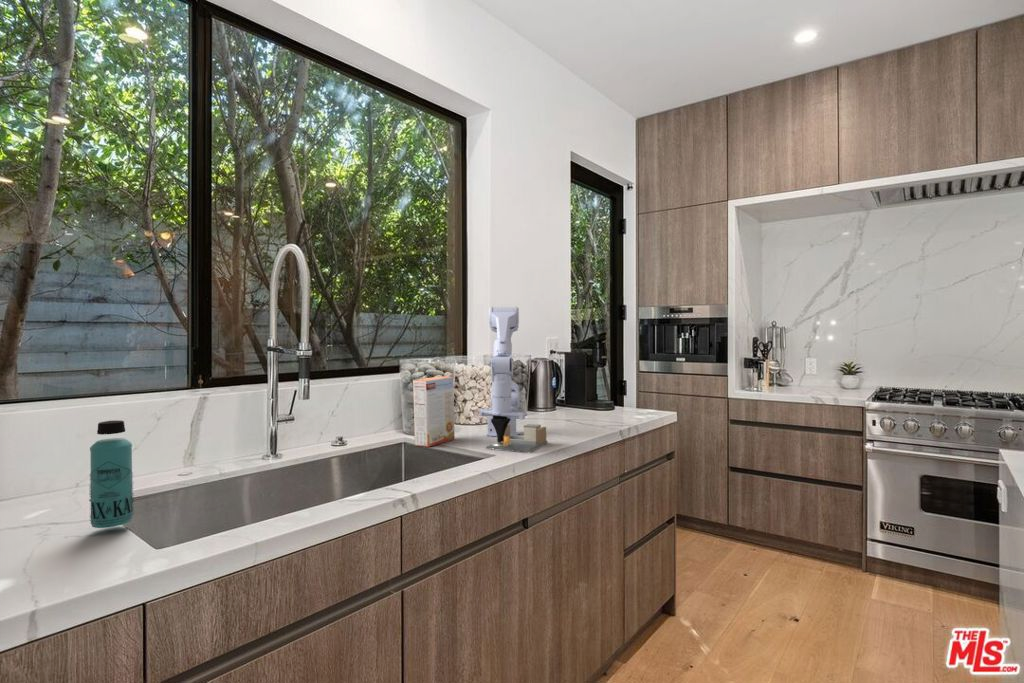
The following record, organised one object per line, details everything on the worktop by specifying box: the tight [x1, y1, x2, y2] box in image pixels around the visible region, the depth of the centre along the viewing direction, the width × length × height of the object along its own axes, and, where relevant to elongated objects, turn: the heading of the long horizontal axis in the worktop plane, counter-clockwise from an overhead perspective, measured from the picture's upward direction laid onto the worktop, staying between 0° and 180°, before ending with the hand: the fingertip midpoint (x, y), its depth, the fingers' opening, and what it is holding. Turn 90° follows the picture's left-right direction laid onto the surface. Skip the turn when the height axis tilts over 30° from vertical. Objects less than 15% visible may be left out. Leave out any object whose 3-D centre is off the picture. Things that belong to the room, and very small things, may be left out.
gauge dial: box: [490, 434, 511, 447], centre depth 171 cm, size 6×6×3 cm
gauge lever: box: [502, 435, 510, 445], centre depth 167 cm, size 6×2×2 cm, turn 17°
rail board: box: [486, 424, 548, 453], centre depth 172 cm, size 14×15×5 cm
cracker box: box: [412, 375, 455, 448], centre depth 179 cm, size 14×6×21 cm, turn 149°
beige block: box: [523, 423, 542, 441], centre depth 174 cm, size 4×4×5 cm
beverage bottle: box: [88, 419, 135, 529], centre depth 101 cm, size 6×7×20 cm
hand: (501, 441), depth 167 cm, fingers closed, pressing on gauge lever
